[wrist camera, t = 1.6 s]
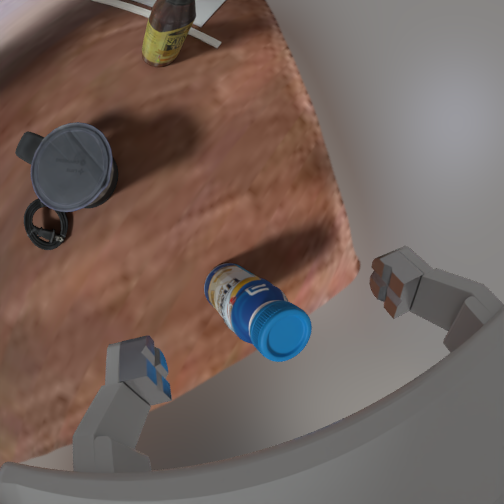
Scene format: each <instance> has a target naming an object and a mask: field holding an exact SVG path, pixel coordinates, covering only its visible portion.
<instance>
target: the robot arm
mask: <svg viewBox="0 0 504 504" xmlns="http://www.w3.org/2000/svg"><path fill="white" fill-rule="evenodd" d="M372 268H373V270H374V272H373V273H372V275H371V276H370V287H371V290H372V292H373V294H374V296H375V297H376V298H377V299H378V300H381V301H383V302H384V308H385V309H386V310H387V312H388V313H389V314H390V315H391V316H392V318H393V319H395V318H396V317H399V316H400V315H402V314H404V313H406V312H408V311H410V310H411V311H410V312H412V313H414V314H416V315H418V316H420V317H422V318H424V319H426V320H428V321H430V322H432V323H433V324H436V325H437V326H439V327H441V328H443V329H445V330H447V331H448V333H447V335H446V337H445V338H444V342H443V343H444V345H445V346H446V347H447V348H448V350H449V351H450V352H451V353H450V354H449V355H448V356H446V357H445V358H443V359H442V360H441V361H439V362H438V363H437V364H435V365H434V366H432V367H431V368H430V369H428V370H427V371H425V372H424V373H422V374H421V375H419V376H418V377H416V378H415V379H414V380H412V381H410V382H409V383H407V384H406V385H404V386H402V387H401V388H399V389H397V390H396V391H394V392H393V393H391V394H389V395H387V396H386V397H384V398H382V399H380V400H379V401H377V402H375V403H373V404H371V405H369V406H368V407H366V408H364V409H362V410H360V411H358V412H356V413H354V414H352V415H350V416H348V417H346V418H343V419H342V420H339V421H337V422H335V423H332V424H331V425H328V426H326V427H323V428H321V429H319V430H316V431H314V432H311V433H309V434H306V435H304V436H301V437H298V438H296V439H293V440H290V441H287V442H284V443H281V444H279V445H275V446H272V447H269V448H266V449H263V450H259V451H256V452H252V453H249V454H245V455H241V456H237V457H233V458H229V459H225V460H221V461H216V462H211V463H206V464H200V465H195V466H189V467H182V468H175V469H167V470H157V471H151V466H150V460H149V457H148V456H147V455H145V454H143V453H141V452H139V451H137V450H135V447H136V444H137V441H138V439H139V436H140V433H141V431H142V428H143V425H144V423H145V420H146V418H147V415H148V412H149V410H150V407H151V406H150V405H155V404H159V403H163V402H168V401H172V398H171V390H170V384H169V383H168V382H167V381H166V379H165V378H166V377H167V375H168V367H167V363H166V360H165V357H164V355H163V353H162V352H161V350H160V349H159V348H156V347H154V341H153V340H152V338H151V337H150V336H143V337H139V338H135V339H130V340H126V341H122V342H118V343H114V344H109V346H108V348H107V360H106V378H105V385H104V386H101V388H100V390H99V391H98V393H97V395H96V396H95V398H94V400H93V402H92V403H91V405H90V407H89V408H88V410H87V412H86V414H85V415H84V417H83V419H82V421H81V422H80V424H79V426H78V428H77V430H76V431H75V433H74V435H73V468H74V471H63V470H55V469H47V468H40V467H34V466H29V465H24V464H19V463H15V462H5V463H4V464H3V465H2V467H1V468H0V504H504V304H503V303H502V302H501V301H500V300H499V299H498V298H497V297H496V296H495V295H494V294H493V293H492V292H491V291H490V290H489V289H488V288H487V287H486V286H485V285H484V284H481V283H478V282H475V281H473V280H470V279H467V278H464V277H461V276H458V275H455V274H452V273H449V272H446V271H443V270H440V269H437V268H436V269H433V268H431V267H430V266H429V265H428V264H427V263H426V262H425V261H424V260H423V259H422V258H421V257H419V256H418V255H417V254H416V253H415V252H414V251H413V250H412V249H410V248H409V247H407V246H404V247H401V248H399V249H396V250H395V251H392V252H389V253H387V254H384V255H382V256H380V257H377V258H375V259H374V260H373V262H372Z"/></svg>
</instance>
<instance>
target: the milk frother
mask: <svg viewBox="0 0 504 504" xmlns="http://www.w3.org/2000/svg"><path fill="white" fill-rule="evenodd" d="M15 153H16V155H17V156H18V157H19V158H21V159H22V160H24V161H26V162H27V163H29V164H31V165H32V166H31V180H32V184H33V188H34V191H35V193H36V195H37V196H38V199H36V200H35V201H33V202H32V203H31V204H30V205H29V206H28V207H27V209H26V211H25V215H24V226H25V230H26V232H27V235H28V237H29V238H30V240H31V241H32V242H33V243H34V244H35V245H36V246H37V247H39V248H41V249H44V250H52V249H55V248H57V247H58V246H59V245H60V244H61V243H62V242H63V241H64V239H65V237H66V233H67V230H68V220H67V216H66V213H65V212H72V211H76V210H79V209H82V208H93V207H97V206H99V205H101V204H103V203H104V202H105V201H107V200H108V199H109V198H110V196H111V195H112V194H113V192H114V190H115V188H116V185H117V181H118V169H117V165H116V162H115V160H114V159H113V157H112V151H111V147H110V144H109V142H108V140H107V139H106V137H105V136H104V134H103V133H102V132H101V131H99V130H98V129H97V128H95V127H94V126H92V125H89V124H86V123H79V122H77V123H69V124H66V125H63V126H60V127H58V128H56V129H55V130H53V131H52V132H51V133H49V134H48V135H47V136H46V137H45V138H44V137H42V136H40V135H37V134H35V133H32V132H26V133H24V135H23V136H22V138H21V140H20V142H19V144H18V146H17V149H16V152H15ZM41 207H49V208H51V209H53V210H55V211H56V213H57V214H58V216H59V218H60V221H61V232H60V235H56V234H55V230H54V229H53V230H48V229H43V228H42V227H41V228H38V227H36V226H34V225H33V223H32V221H33V220H32V218H33V215H34V213H35V212H36V211H37V210H38V209H39V208H41ZM37 235H39V236H37ZM41 236H42V237H43V238H45V239H48V240H49V242H46V241H44V240H42V239H40V238H39V237H41Z"/></svg>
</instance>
